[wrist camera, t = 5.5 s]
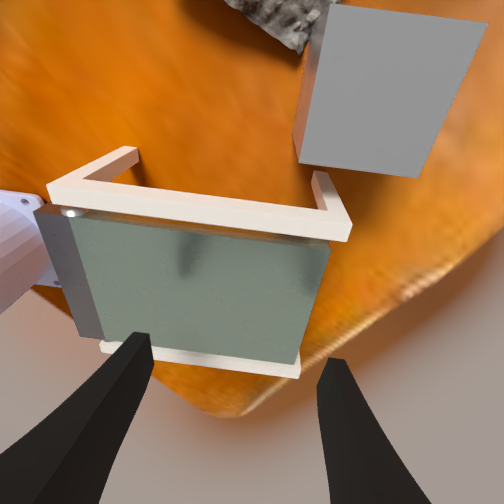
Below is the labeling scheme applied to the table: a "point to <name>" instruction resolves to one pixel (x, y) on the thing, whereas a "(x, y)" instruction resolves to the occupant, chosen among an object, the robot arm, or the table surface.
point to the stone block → (379, 87)
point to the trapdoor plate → (184, 281)
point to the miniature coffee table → (208, 212)
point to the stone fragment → (284, 18)
